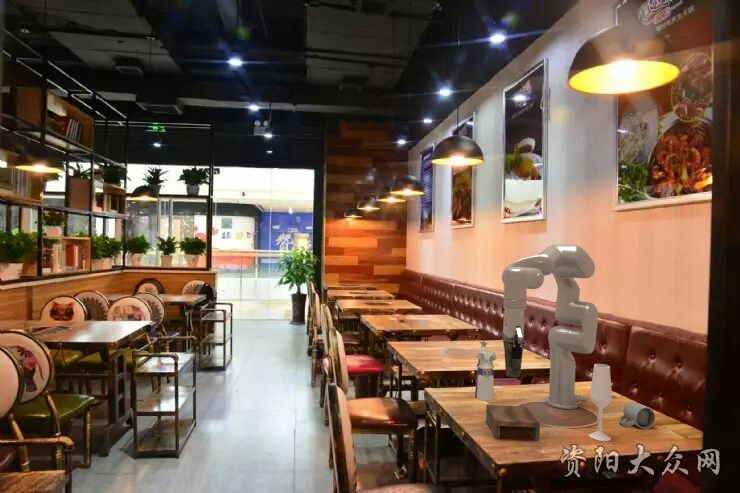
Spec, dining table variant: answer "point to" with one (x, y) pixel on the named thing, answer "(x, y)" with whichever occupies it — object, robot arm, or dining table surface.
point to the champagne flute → (601, 396)
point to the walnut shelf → (511, 419)
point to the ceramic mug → (638, 416)
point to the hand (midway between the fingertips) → (513, 355)
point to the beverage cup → (511, 364)
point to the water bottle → (485, 374)
